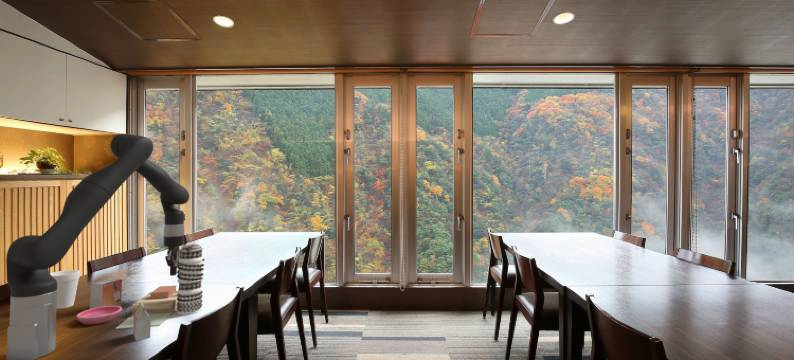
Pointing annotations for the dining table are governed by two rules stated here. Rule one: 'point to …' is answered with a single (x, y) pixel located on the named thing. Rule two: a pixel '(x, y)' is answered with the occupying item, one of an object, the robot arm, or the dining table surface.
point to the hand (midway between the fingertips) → (173, 275)
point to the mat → (155, 318)
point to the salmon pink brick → (163, 292)
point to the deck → (157, 304)
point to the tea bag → (141, 323)
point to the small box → (106, 293)
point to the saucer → (99, 315)
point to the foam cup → (66, 287)
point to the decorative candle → (190, 280)
